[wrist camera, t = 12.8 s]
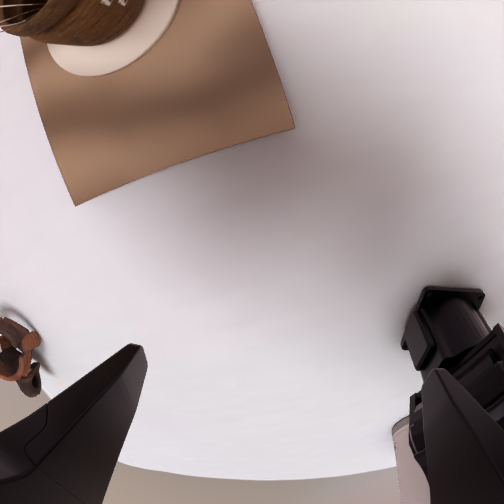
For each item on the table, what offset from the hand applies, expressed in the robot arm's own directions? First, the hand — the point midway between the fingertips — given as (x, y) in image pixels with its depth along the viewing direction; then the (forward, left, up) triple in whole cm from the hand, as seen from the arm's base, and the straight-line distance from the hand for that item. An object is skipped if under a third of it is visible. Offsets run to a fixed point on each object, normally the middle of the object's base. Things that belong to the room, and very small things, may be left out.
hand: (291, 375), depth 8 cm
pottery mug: (+32, +20, -13) cm, 41 cm away
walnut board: (+12, -14, -13) cm, 23 cm away
